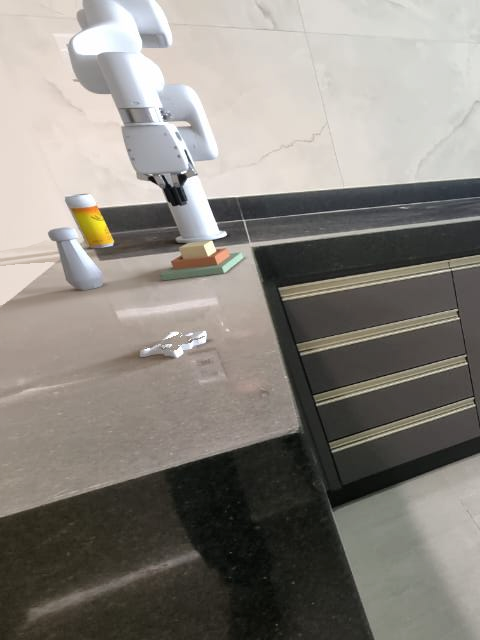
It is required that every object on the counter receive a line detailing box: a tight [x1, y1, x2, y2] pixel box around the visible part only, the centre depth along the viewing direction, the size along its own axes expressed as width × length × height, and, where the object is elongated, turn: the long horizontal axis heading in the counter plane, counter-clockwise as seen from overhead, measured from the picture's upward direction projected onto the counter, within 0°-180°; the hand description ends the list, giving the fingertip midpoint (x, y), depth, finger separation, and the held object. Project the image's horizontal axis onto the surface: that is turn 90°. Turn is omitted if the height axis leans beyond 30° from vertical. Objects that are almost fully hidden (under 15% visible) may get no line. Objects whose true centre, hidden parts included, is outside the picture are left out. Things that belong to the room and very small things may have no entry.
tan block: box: [178, 240, 217, 259], centre depth 127 cm, size 6×5×4 cm
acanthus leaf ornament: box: [139, 330, 207, 359], centre depth 82 cm, size 8×7×2 cm
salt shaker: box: [47, 226, 104, 291], centre depth 114 cm, size 6×6×13 cm
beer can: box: [64, 193, 115, 249], centre depth 156 cm, size 6×6×15 cm
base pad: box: [159, 247, 244, 282], centre depth 128 cm, size 16×12×4 cm
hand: (179, 205), depth 122 cm, fingers closed
